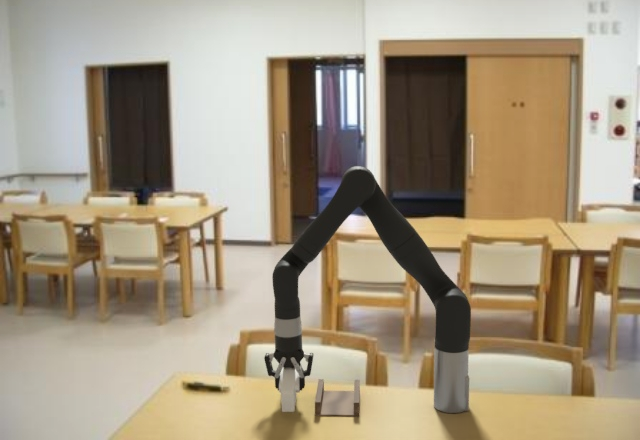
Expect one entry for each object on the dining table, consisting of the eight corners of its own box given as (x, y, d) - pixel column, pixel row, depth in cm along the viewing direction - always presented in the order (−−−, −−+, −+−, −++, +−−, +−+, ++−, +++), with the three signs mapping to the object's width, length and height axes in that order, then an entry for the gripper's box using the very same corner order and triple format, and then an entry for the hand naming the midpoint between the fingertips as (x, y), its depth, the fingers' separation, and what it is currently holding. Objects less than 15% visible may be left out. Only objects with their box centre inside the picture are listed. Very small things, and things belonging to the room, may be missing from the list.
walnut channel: (359, 392, 211) (359, 379, 210) (359, 416, 195) (359, 402, 195) (318, 391, 212) (318, 379, 211) (315, 415, 196) (314, 402, 195)
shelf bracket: (302, 378, 218) (300, 342, 213) (299, 431, 195) (297, 392, 190) (284, 379, 218) (282, 343, 214) (279, 432, 195) (276, 392, 190)
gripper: (314, 327, 203) (316, 384, 206) (264, 327, 204) (266, 384, 207) (313, 336, 196) (314, 395, 198) (260, 336, 196) (262, 395, 199)
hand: (290, 389), depth 203 cm, fingers closed on shelf bracket, 5 cm apart
